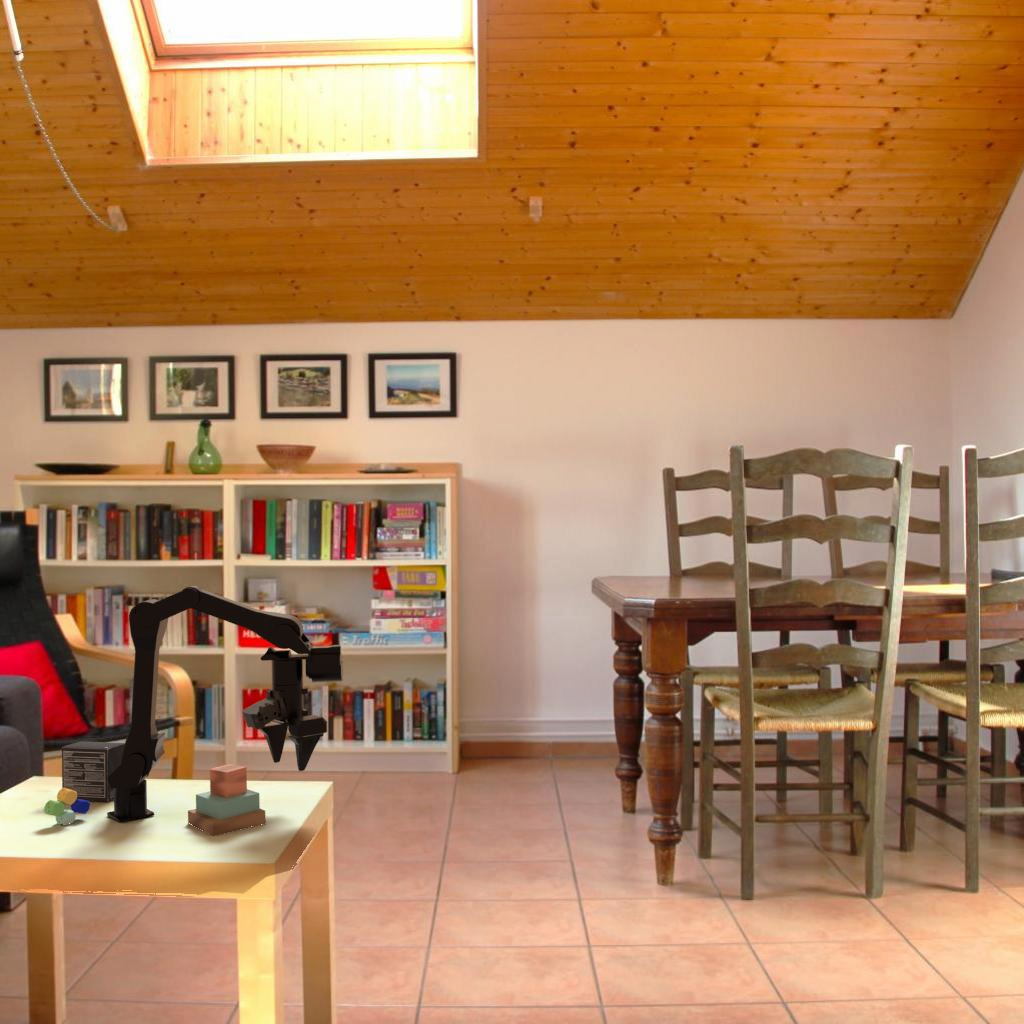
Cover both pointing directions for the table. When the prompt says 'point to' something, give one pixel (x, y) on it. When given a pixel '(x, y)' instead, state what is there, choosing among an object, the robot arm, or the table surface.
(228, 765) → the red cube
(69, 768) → the small box
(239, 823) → the tower base
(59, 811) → the multicolored block cluster
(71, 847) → the table surface
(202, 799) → the tower top
